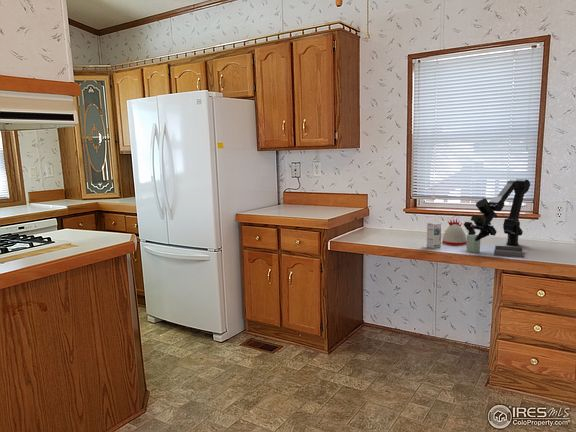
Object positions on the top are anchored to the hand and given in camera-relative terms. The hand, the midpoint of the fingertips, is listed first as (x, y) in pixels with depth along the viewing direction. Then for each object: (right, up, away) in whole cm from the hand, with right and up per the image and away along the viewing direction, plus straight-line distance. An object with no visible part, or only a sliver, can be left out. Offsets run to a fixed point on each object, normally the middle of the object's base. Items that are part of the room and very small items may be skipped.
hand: (471, 239), depth 252 cm
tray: (+18, -7, -5) cm, 20 cm away
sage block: (+1, -6, +2) cm, 7 cm away
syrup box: (-17, -5, +14) cm, 23 cm away
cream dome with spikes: (-1, -3, +24) cm, 24 cm away
